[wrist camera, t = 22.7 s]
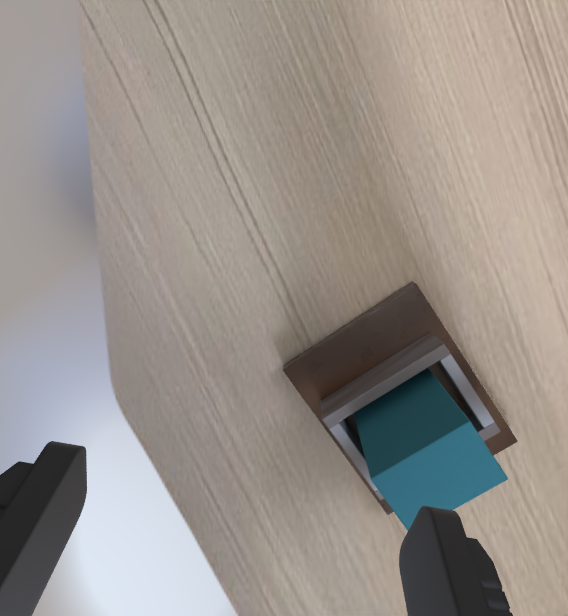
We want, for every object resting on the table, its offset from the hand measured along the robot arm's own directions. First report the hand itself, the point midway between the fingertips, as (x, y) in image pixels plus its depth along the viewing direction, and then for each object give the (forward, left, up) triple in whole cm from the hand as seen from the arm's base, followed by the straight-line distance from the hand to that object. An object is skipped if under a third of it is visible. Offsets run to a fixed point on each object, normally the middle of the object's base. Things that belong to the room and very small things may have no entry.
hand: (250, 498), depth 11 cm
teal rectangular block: (+8, -8, -21) cm, 24 cm away
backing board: (+8, -8, -22) cm, 25 cm away
